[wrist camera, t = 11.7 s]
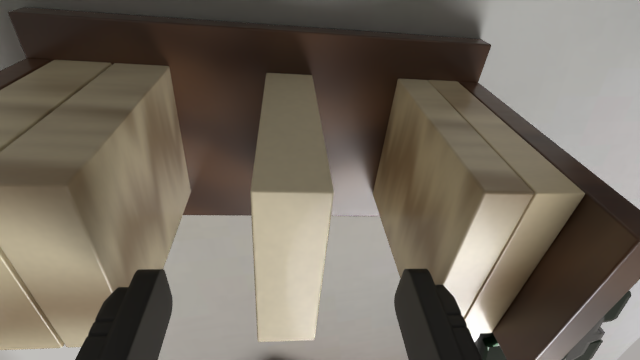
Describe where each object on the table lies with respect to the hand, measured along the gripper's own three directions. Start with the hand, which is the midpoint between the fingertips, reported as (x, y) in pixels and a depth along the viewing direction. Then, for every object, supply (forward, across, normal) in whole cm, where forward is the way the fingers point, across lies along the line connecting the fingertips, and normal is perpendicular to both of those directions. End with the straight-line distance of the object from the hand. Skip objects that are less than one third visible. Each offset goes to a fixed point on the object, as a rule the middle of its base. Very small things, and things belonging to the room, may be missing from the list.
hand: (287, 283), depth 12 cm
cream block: (+10, 0, 0) cm, 10 cm away
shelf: (+11, +1, 0) cm, 12 cm away
